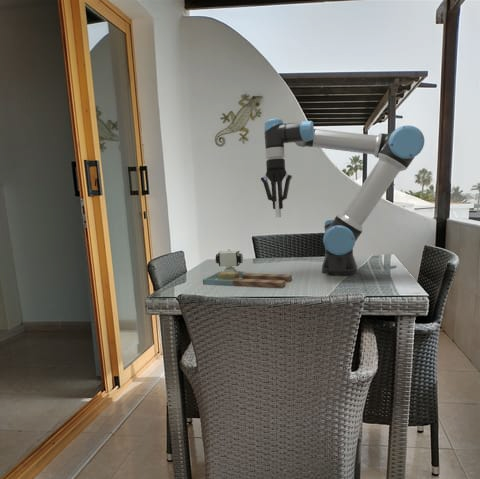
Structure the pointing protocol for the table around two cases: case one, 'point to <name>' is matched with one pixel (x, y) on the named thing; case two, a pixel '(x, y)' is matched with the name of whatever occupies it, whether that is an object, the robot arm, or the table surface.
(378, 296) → the table surface
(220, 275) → the chip
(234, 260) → the pneumatic valve
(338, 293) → the table surface
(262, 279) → the slot board
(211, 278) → the tray
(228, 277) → the chip
